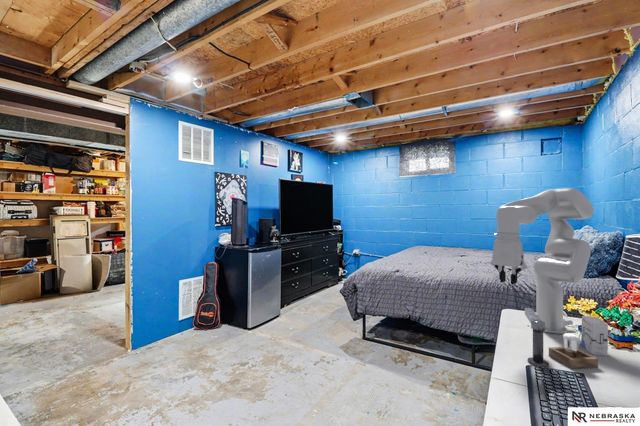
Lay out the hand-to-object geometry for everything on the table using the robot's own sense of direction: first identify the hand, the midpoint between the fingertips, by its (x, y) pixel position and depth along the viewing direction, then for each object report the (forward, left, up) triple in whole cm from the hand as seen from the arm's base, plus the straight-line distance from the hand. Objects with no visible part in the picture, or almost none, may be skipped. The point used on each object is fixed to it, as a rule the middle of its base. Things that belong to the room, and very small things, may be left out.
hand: (508, 282), depth 122 cm
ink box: (-28, +10, -24) cm, 38 cm away
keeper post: (+1, +16, -24) cm, 29 cm away
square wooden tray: (-12, +16, -24) cm, 31 cm away
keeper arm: (-2, +10, -12) cm, 16 cm away
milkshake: (-11, +17, -24) cm, 31 cm away
